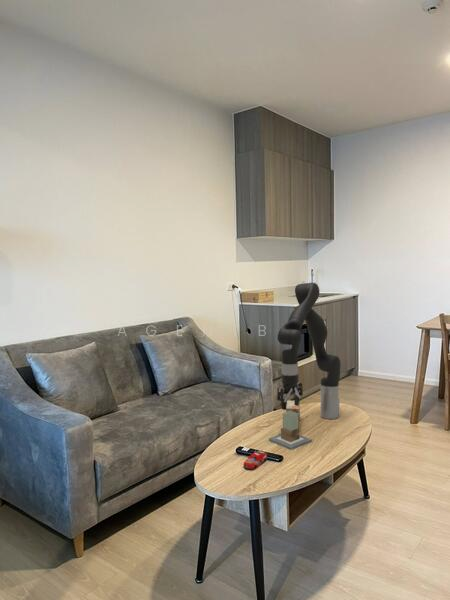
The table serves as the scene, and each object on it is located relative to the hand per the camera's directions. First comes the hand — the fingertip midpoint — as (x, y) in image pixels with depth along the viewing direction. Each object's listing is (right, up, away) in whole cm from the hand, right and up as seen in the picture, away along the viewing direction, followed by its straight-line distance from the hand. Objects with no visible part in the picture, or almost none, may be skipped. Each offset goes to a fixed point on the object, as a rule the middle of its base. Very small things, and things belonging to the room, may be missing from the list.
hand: (290, 407), depth 200 cm
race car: (-17, -18, -21) cm, 33 cm away
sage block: (0, -10, +1) cm, 10 cm away
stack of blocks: (+5, -15, +22) cm, 27 cm away
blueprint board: (0, -16, +1) cm, 16 cm away
